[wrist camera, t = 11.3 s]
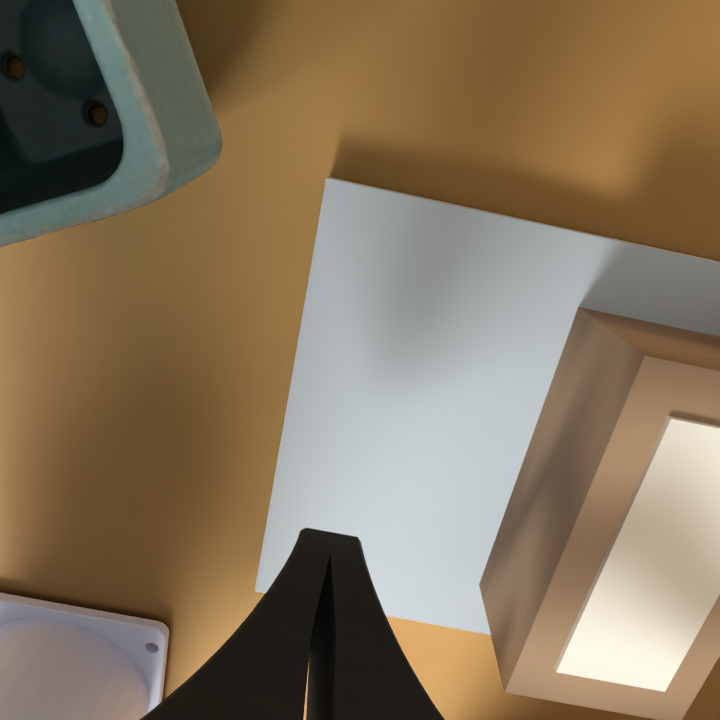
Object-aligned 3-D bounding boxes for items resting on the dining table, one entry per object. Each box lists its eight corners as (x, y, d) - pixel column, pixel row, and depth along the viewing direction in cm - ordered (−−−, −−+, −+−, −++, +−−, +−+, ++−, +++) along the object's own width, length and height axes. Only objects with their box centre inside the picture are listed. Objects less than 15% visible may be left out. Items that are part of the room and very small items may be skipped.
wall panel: (626, 638, 20) (681, 746, 17) (260, 571, 20) (233, 667, 16) (806, 280, 16) (941, 317, 12) (329, 176, 15) (313, 182, 11)
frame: (619, 610, 19) (682, 729, 15) (479, 584, 19) (506, 697, 15) (748, 342, 15) (875, 405, 11) (578, 306, 15) (648, 358, 11)
